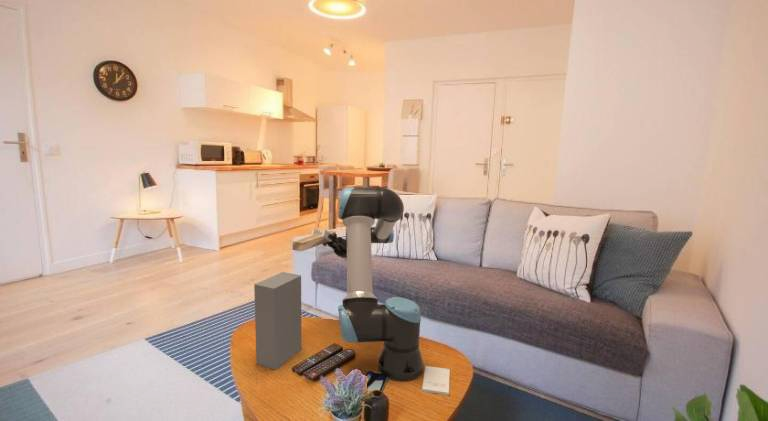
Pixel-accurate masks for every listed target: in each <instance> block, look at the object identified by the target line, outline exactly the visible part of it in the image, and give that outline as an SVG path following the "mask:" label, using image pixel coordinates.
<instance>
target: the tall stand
mask: <svg viewBox="0 0 768 421" xmlns="http://www.w3.org/2000/svg"><path fill="white" fill-rule="evenodd" d="M253 290H254V318H255V319H254V321H255V323H254V324H255V326H254V327H255V358H256V359H255V360H256V361H255V362H256V365H259V366H262V367H265V368H268V369H270V370H274V371H277V370H278V369H279V368H280V367H281V366H283V365H284V364H286V363H287V362H288V361H289V360H291V359H292V358H294V356H295V355H297V354H299V353H300V352H301V351H302V349H303V348H302V346H303V344H302V342H303V341H302V331H303V330H302V275H300V274H297V273H296V274H295V273H290V272H285V271H281V272H279V273H277V274H274V275H273V276H272V275H271V276H270V277H268V278H266V279H263V280H261V281H258V282H257V283H254V284H253Z"/></svg>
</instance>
